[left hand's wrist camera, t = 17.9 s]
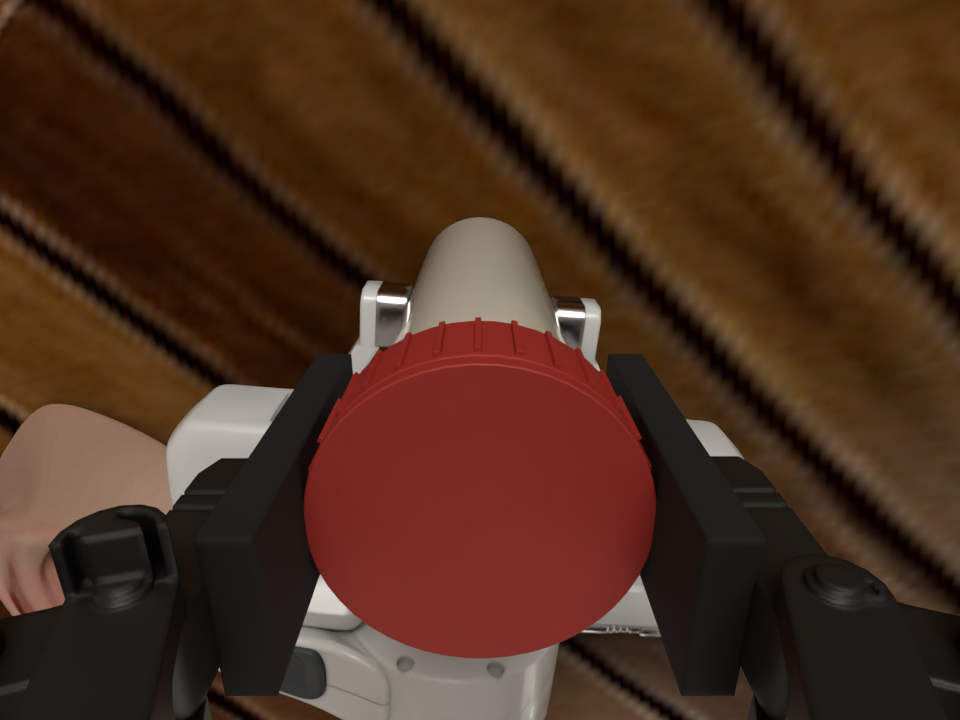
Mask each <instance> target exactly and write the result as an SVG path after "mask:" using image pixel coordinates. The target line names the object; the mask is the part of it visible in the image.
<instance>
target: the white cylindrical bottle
mask: <svg viewBox="0 0 960 720" xmlns="http://www.w3.org/2000/svg"><path fill="white" fill-rule="evenodd" d="M475 317H481V321H497V322H504V323H510V324H511V321H512V320H514V321H517V322H518V325H520V326H524V327H527V328H531V329H534V330H537V331H540V332H542V333H544V334H545V332H546V330H547V331H549V332H551V333H552V336H553V337H554V338H556V339H558V340H559V341H561V342H563V343H564V344H566V345H568V344H567V341H566V339H565V336H564V333H563V331H562V328H561V326H560V323H559V320H558V318H557V315H556V312H555V310H554V307H553V304H552V302H551V299H550V297H549V294H548V291H547V289H546V286H545V283H544V281H543V278H542V275H541V273H540V270H539V268H538V265H537V262H536V260H535V257H534V254H533V252H532V250H531V248H530V246H529V244H528V243H527V241H526V240H525V239H524V237H523V236H522V235H521V234H520V233H519V232H518V231H516V230H515V229H514V228H513V227H511V226H509V225H508V224H506V223H504V222H501V221H498V220H495V219H491V218H482V217H477V218H469V219H465V220H461V221H459V222H456V223H454V224H452V225H451V226H449V227H447V228H446V229H445V230H443V231H442V232H441V233H440V234H439V235H438V236H437V237H436V239H435V240H434V241H433V242H432V244H431V246H430V247H429V250H428V252H427V254H426V257H425V259H424V262H423V265H422V267H421V270H420V273H419V275H418V278H417V281H416V283H415V286H414V289H413V291H412V294H411V296H410V299H409V302H408V304H407V307H406V310H405V312H404V315H403V318H402V320H401V323H400V326H399V328H398V331H397V334H396V336H395V339H394V342H393V344H392V345H394V344H395V343H397V342H399V341H401V340H403V339H404V337H405V334H406V333H408V332H411V333H412V335H413V334H416V333H418V332H421V331H424V330H426V329H429V328H432V327H436V326H439V322H441V321H445V323H446V324H449V323H456V322H465V321H475Z"/></svg>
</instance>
